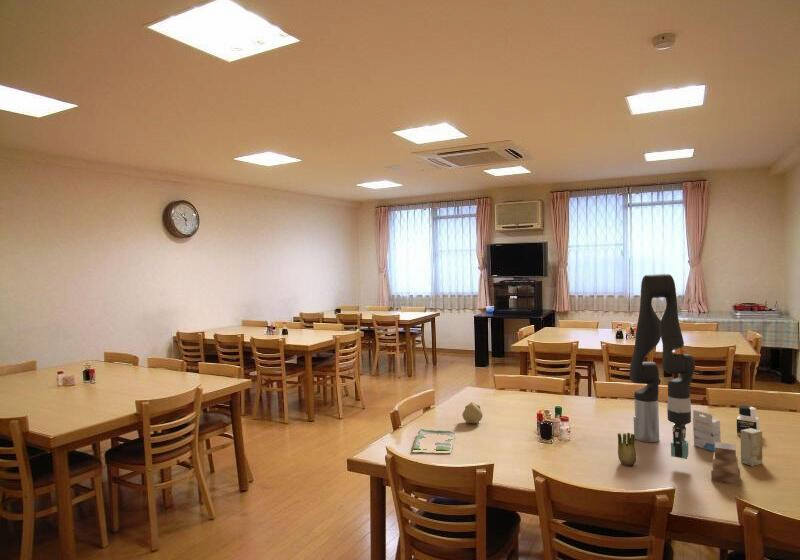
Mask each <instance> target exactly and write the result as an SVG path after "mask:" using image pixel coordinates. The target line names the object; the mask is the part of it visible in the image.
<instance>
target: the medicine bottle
mask: <svg viewBox="0 0 800 560" xmlns="http://www.w3.org/2000/svg"><path fill="white" fill-rule="evenodd" d="M738 411H739V412H738V413H739V415H738V416H737V417H736V435H737V436H741V430H744V429H749V428H752V429H756V430H760V417H757V408H756V407H753V406H750V405H740V406H739V408H738Z"/></svg>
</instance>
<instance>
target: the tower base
mask: <svg viewBox="0 0 800 560" xmlns="http://www.w3.org/2000/svg"><path fill="white" fill-rule="evenodd" d="M711 465H712V466H711V469H710V473H711V474H710V476H711V478H710V479H711V482H713V483H719V484H725V485H730V486H733V487H734V486H735V487H740V486H741V485H740V484H741V467H740V466H738V474H732V473H726V472H720V471H715V470H713V464H711Z"/></svg>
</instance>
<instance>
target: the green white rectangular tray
mask: <svg viewBox="0 0 800 560" xmlns="http://www.w3.org/2000/svg"><path fill="white" fill-rule="evenodd" d="M417 434H418V436H417V435H416V438H415V441H414V444H413V446H414V448H413V447H412V449H413V450H421V449H420V448H419V447H420V442H419V440H420V439H422V438H426V437H424V435H428V434H437V435H439V434H440V435H447V436H451V437H453V436H454V434H455V432H454V431H452V430H440V429H439V430H435V429H425V428H420V430H418V431H417ZM455 435H456V434H455ZM451 440H453V439H448V440H445V441H446V442H447V443H446V442H444V443H443V442H442V443H441V442H437V443H435V445H436V446H437V447H436V449H434V450H436V451H450V449H451V448H450V447H451V444H450V442H451ZM423 450H427V449H423Z"/></svg>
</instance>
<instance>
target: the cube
mask: <svg viewBox="0 0 800 560" xmlns="http://www.w3.org/2000/svg"><path fill="white" fill-rule="evenodd" d="M676 443H678V444H680V442H677V441H676ZM682 445H683V447H682V457H676V456H675V446H674V445H673V438H672V440H671V442H670V457H673V458H678V459H679V458H680V459H682V460H683V459H685V460H687V459H688V457H689V440H686V439H685V440H684V441H683V442H682Z"/></svg>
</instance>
